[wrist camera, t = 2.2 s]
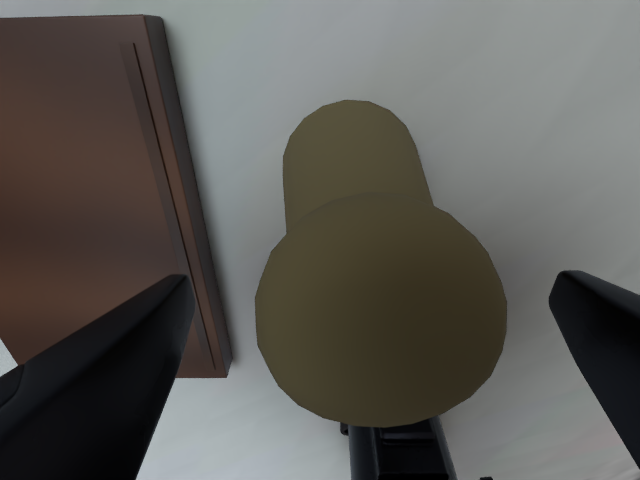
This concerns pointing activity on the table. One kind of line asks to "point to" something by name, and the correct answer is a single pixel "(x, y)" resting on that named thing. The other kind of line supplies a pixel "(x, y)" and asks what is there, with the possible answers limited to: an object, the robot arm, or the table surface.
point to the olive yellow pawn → (373, 279)
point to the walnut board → (96, 184)
